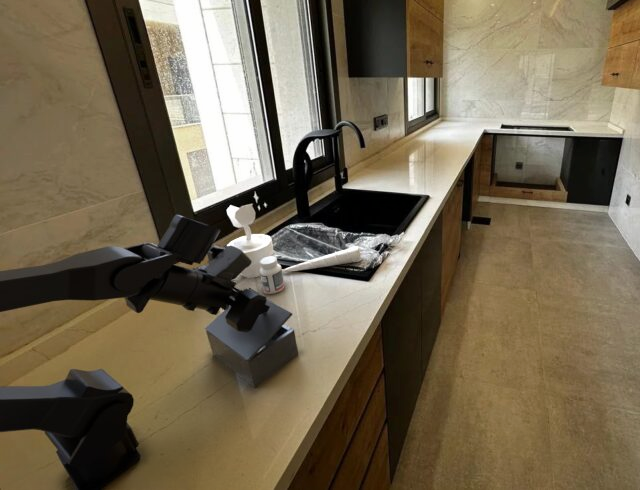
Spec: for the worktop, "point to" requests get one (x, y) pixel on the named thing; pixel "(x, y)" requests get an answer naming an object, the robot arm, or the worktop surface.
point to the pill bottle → (271, 275)
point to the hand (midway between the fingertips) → (260, 304)
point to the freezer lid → (254, 339)
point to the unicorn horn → (329, 260)
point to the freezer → (258, 356)
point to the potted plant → (250, 238)
